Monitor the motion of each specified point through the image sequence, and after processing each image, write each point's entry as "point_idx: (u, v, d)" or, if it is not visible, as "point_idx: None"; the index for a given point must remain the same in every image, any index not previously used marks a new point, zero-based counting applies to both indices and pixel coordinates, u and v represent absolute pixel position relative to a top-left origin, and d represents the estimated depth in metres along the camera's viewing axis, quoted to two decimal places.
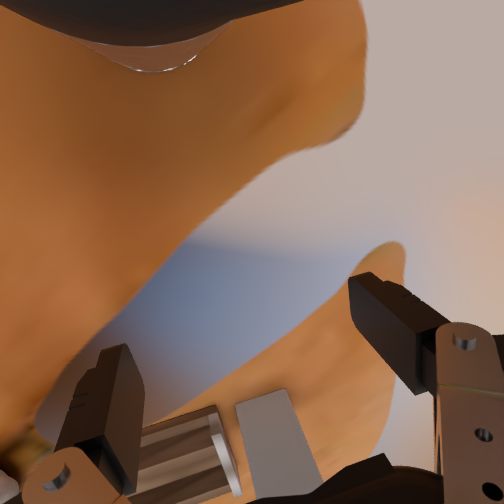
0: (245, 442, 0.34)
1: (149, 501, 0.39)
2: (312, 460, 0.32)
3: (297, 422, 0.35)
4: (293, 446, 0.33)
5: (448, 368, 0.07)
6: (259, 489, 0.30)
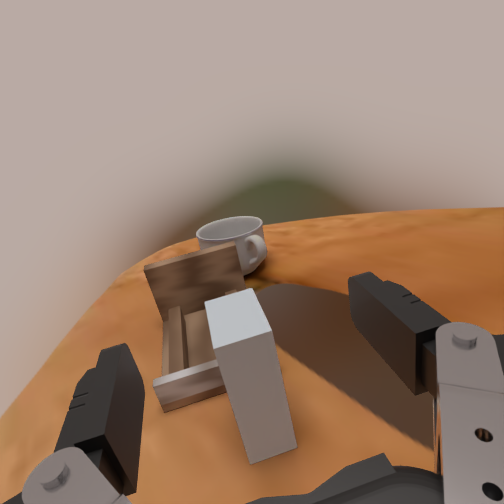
0: None
1: (183, 325, 0.42)
2: None
3: None
4: None
5: (448, 368, 0.07)
6: None
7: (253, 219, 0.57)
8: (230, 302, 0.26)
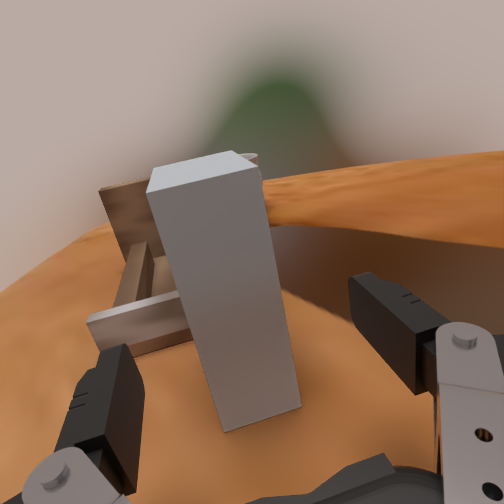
0: None
1: (149, 263, 0.31)
2: None
3: (287, 332, 0.15)
4: None
5: (448, 368, 0.07)
6: None
7: (247, 156, 0.47)
8: (194, 162, 0.16)
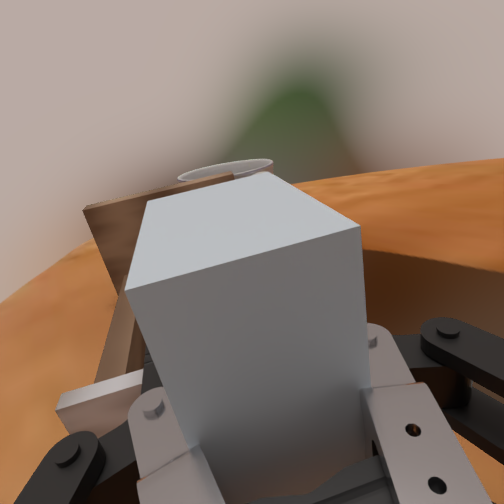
0: None
1: None
2: None
3: None
4: None
5: None
6: None
7: (259, 162, 0.41)
8: (213, 194, 0.10)
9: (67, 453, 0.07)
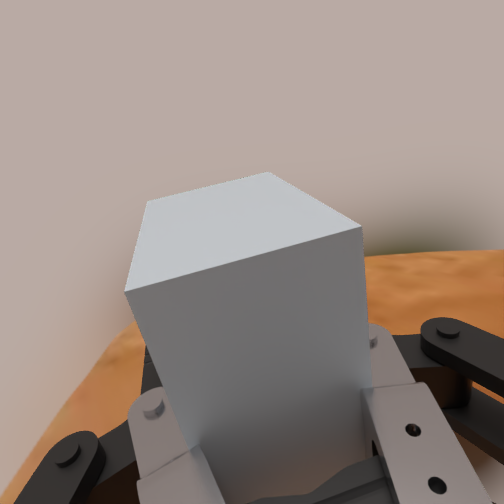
0: None
1: None
2: None
3: None
4: None
5: None
6: None
7: None
8: (213, 194, 0.10)
9: (67, 453, 0.07)
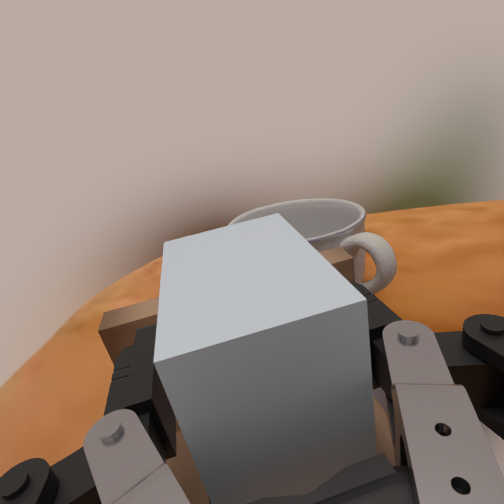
0: None
1: None
2: None
3: None
4: None
5: (388, 363, 0.08)
6: None
7: (334, 204, 0.30)
8: (227, 239, 0.10)
9: (15, 484, 0.07)
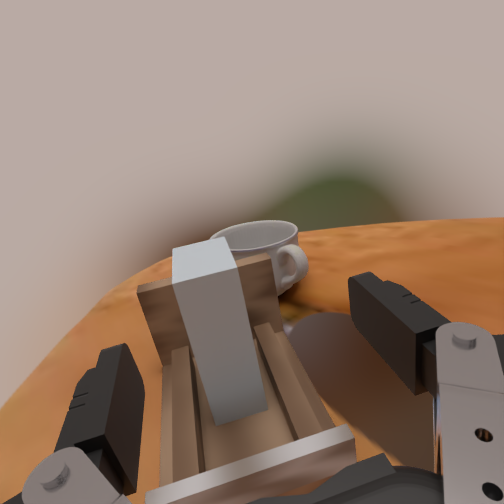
0: None
1: (193, 378, 0.28)
2: (246, 312, 0.22)
3: (257, 361, 0.24)
4: None
5: (448, 368, 0.07)
6: None
7: (283, 224, 0.44)
8: (199, 248, 0.25)
9: None
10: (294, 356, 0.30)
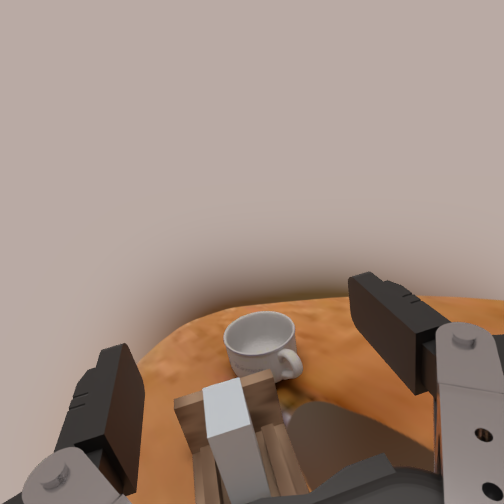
0: (252, 425, 0.39)
1: (217, 473, 0.38)
2: (257, 447, 0.32)
3: (264, 474, 0.34)
4: (257, 447, 0.34)
5: (448, 368, 0.07)
6: None
7: (283, 317, 0.54)
8: (222, 391, 0.35)
9: None
10: (291, 451, 0.40)
